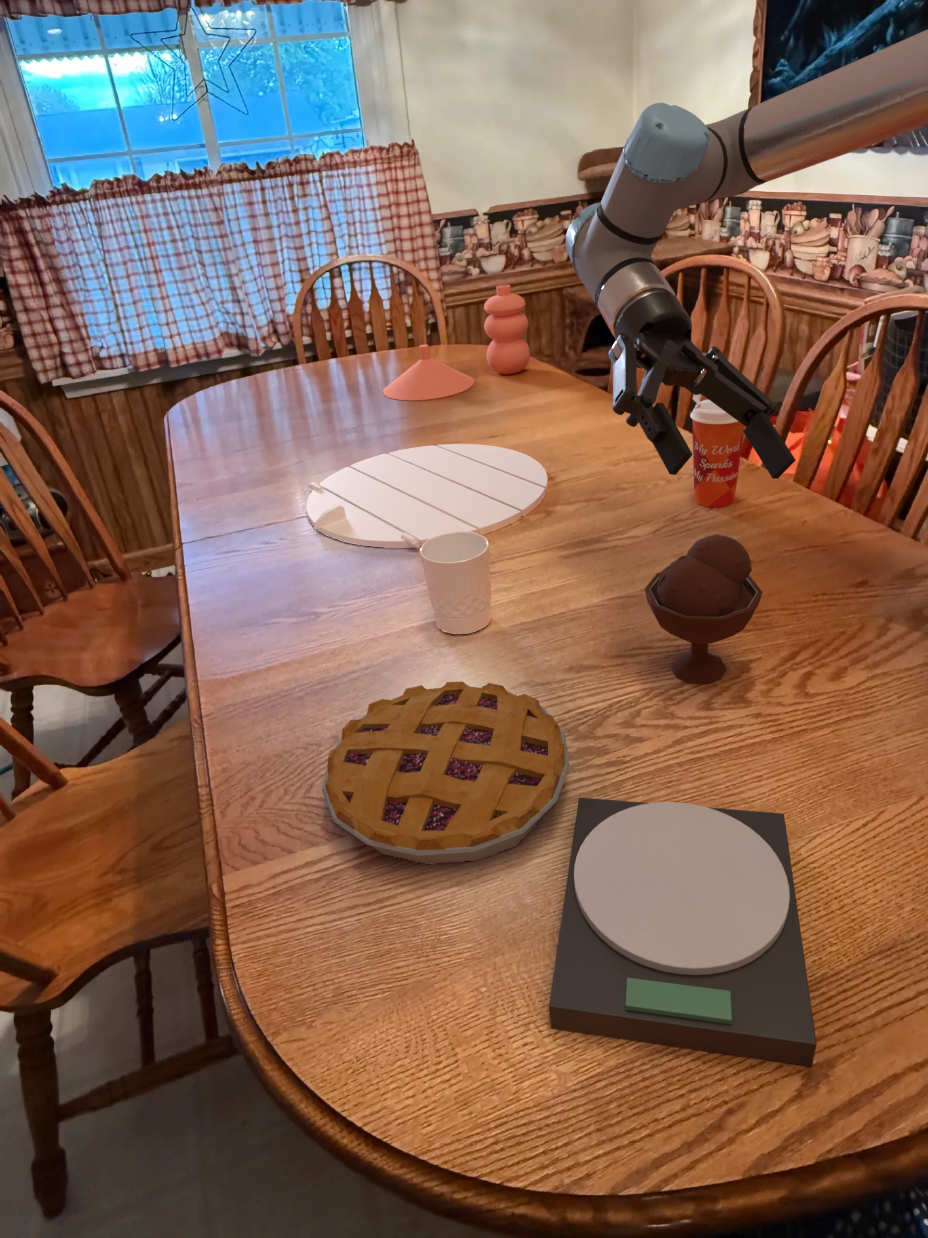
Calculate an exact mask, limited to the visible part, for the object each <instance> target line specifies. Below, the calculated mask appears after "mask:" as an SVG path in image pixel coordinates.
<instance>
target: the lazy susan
mask: <svg viewBox="0 0 928 1238" xmlns="http://www.w3.org/2000/svg"><path fill="white" fill-rule="evenodd" d="M308 488H309V489H310V490H312V491H311V492H310V493H309V495H308V497H307V499H306V503H305V510H306V513H307V514H306V515H307V519H308V518H309V519H308V521H309V520H310V521H309V523H310V522H311V523H312V524H313V526H314V527H313V526H312V527H313V529H314V530H316V531H318V530H319V531H321V532H322V533H324V534H326V535H328V536H330V537H334V538H335V539H339V540H342V541H347V542H350V543H356V544H360V545H365V546H377V547H384V548H383V549H419V548H421V546H422V545H423V544H424V543H425V542H426V541H428V540H429V539H431V538H433V537H435V536H438V535H441V534H445V533H450V532H473V533H477V534H480V535H482V536H484V535H487V534H490V533H493V532H495V531H498V530H500V529H501V530H502V529H503V528H505V527H507V526H510V525H512V524H513V523H516V522H518V521H519V520H521V519H522V518H524V517H526V516H528V515H529V514H530V513H531V512H533V511H534V510H535V509H536V508H537V507H538V506H539V505H540V504H541V502H543V500H544V499H545V497H546V494H547V493H548V488H549V481H548V473H547V471H546V469H545V468H544V466H543V465H542V464H541V463H540V462H539V461H537V460H536V459H535V458H533V457H531V456H529V455H528V454H526V453H523V452H520V451H517V450H515V449H510V448H507V447H502V446H496V445H487V444H478V443H475V444H474V443H448V444H447V443H446V444H444V443H443V444H436V445H434V444H433V445H430V444H429V445H424V446H423V445H422V446H416V447H408V448H404V449H403V448H402V449H399V450H394V451H389V452H388V453H386V452H385V453H382V454H378V455H374V456H372V457H368V458H365V459H363V460H360V461H357V462H355V463H352V464H349V466H345V467H344V468H341V469H339V470H337V471H336V472H333V473H332V474H330V475H329V476H328V477H326V478H325V479H323V480H322V481H321V482H320V483H316V482H309V483H308ZM311 523H310V524H311ZM312 524H311V525H312ZM317 529H318V530H317ZM319 531H318V532H319ZM322 533H321V534H322Z"/></svg>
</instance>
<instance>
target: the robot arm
mask: <svg viewBox="0 0 928 1238" xmlns="http://www.w3.org/2000/svg"><path fill="white" fill-rule="evenodd" d="M926 126H928V29H925V30H923V31H921V32H918V33H916V34H915V35H912V36H910V37H907V38H905V39H903V40H900V41H899V42H896V43H894V44H891V45H889V46H887V47H885V48H882V49H880V50H877V51H876V52H873V53H871V54H868V55H867V56H864V57H862V58H860V59H857V60H854V61H853V62H851V63H849V64H846V65H844V66H841V67H839V68H837V69H834V70H833V71H830V72H828V73H825V74H823V75H822V76H818V77H817V78H815V79H812V80H810V81H807V82H805V83H803V84H801V85H799V86H796V87H794V88H791V89H790V90H788V91H787V90H786V91H785V92H783V93H780V94H777V95H776V96H773V97H772V98H769V99H767V100H764V101H763V102H760V103H758V104H755V105H753V106H752V107H749V108H746V109H744V110H741V111H739V112H737V113H735V114H732V115H730V116H727V117H726V118H724V119H720V120H719V121H716V122H711V123H707V124H705V123H704V121H702V120H701V118H699V117H698V116H697V115H696V114H694V113H693V112H692V111H689V110H687V109H685V108H683V107H682V106H679V105H675V104H672V105H670V104H668V103H665V102H656V103H653V104H650V105H649V106H647V107H645V108H644V109H643V111H642V112H641V113H640V115H639V117H638V119H637V121H636V123H635V125H634V127H633V129H632V131H631V133H630V134H629V136H628V137H627V138H626V140H625V143H624V145H623V149H622V151H621V154H620V156H619V158H618V160H617V163H616V165H615V168H614V171H613V172H612V174H611V177H610V180H609V182H608V184H607V187H606V189H605V191H604V194H603V196H602V198H601V200H600V202H596V203H593V204H590V205H588V206H586V207H585V208H584V209H582V210H581V211H580V214H579V215H578V216H577V217H576V218H575V219H572V221H571V222H570V225H569V226H568V229H567V232H566V234H565V250H566V252H567V254H568V257H569V259H570V262H571V264H572V268H573V271H574V272H575V274H576V275H577V278H579V280H580V281H581V283H582V284H583V286H584V287H585V288H586V290H587V293H588V294H589V295H590V297H591V299H592V300H593V302H594V304H595V306H596V308H597V310H598V311H599V313H600V314H601V316H602V318H603V320H604V321H605V324H606V325H607V327H608V329H609V331H610V333H611V334H612V336H613V337H614V340H615V341H614V343H613V345H612V346H611V348H610V350H609V351H608V352H607V355H608V358H609V360H610V362H611V365H612V404H611V405H612V407H611V408H612V411H613V412H614V413H615V414H616V415H619V416H623V415H624V414H625V413H626V414H628V415H627V417H626V418H625V422H626V424H627V425H628V426H630V427H632V428H636V427H637V426H638V424H639V425H640V428H641V429H642V431H643V434H645V437H646V438H647V440H648V441H649V442H650V443H652V445H653V447H654V449H655V450H656V452H657V454H658V456H659V458H660V459H661V461H662V463H663V465H664V466H665V468H666V471H667V472H668V474H669V475H670V476H671V475H672V476H677V474H678V473H679V472H680V471H681V469H682V468H683V467H684V466H685V465H686V463H687V462H689V460H690V458H691V457H693V451H692V450H691V449H690V447H689V445H688V443H687V441H686V440H685V437H683V435H682V433H681V431H680V430H679V428H678V426H677V424H676V423H675V420H674V419H673V418H672V416H671V414H670V412H669V411H668V408H667V407H666V405H665V403H664V402H656V403H655V400H656V399H657V398H656V397H657V395H658V392H659V390H660V386H661V385H662V384H663V385H664V386H667V387H674V386H676V387H680V388H684V389H686V390H687V391H689V392H690V393H691V394H693V395H694V396H698V395H702V396H703V397H704V398H705V399H706V400H708V399H709V400H710V401H711V402H713V403H714V404H715V405H717V406H718V407H720V408H721V409H722V410H724V411H725V412H726V413H728V414H729V415H730V416H732V417H733V418H735V419H736V420H737V421H739V422H740V423H741V424H743V425H744V431H743V432H744V433H743V435H745V437H746V438H747V440H748V442H749V443H750V444H751V447H752V448H753V450H754V451H755V453H756V454H757V456H758V458H759V459H760V461H761V462H762V464H763V466H764V467H765V469H766V471H767V472H768V474H769V475H770V477H771V478H772V479H773V480H774V479H775V480H776V479H777V480H778V479H779V478H781V476H782V475H783V474H784V473H785V472H786V471H787V470H788V469H789V468H790V467H791V466H792V465H793V464H794V463H795V462H796V458H795V456H794V455H793V453H792V452H791V450H790V449H789V447H788V446H787V444H786V442H785V441H784V440H783V438H782V436H781V435H780V433H779V431H778V430H777V428H776V427H775V425H774V424H773V422H772V421H771V419H772V418H773V417H774V415H775V414H776V413H777V412H778V410H779V406H778V405H777V404H776V403H775V402H774V401H773V400H772V399H770V397H769V396H767V395H766V394H765V393H764V392H763V391H762V390H761V389H760V388H758V386H757V385H756V384H754V383H753V382H752V381H751V380H750V379H749V378H748V377H747V376H745V375H744V374H743V373H742V372H741V371H740V370H739V369H738V368H736V366H735V365H733V364H732V363H731V362H730V361H729V360H728V358H727V357H726V356H725V354H724V353H723V352H722V351H721V349H720V348H719V347H717V346H711V348H710V349H709V350H708V352H702V350H701V349H700V348H699V347H698V346H697V345H695V343H694V342H693V341H692V331H693V322H692V318H691V317H690V315H689V314H688V312H687V310H686V309H685V308H684V306H683V304H682V303H681V302H680V301H681V300H679V298H678V297H677V296H676V293H675V291H674V290H673V288H672V286H671V285H670V284H669V282H668V280H667V279H666V278H665V276H664V275H663V273H662V272H661V270H660V269H659V267H658V265H657V263H656V261H655V260H654V259H653V256H652V254H653V252H654V250H655V248H656V246H657V244H658V243H659V241H660V240H661V238H662V236H663V234H664V232H665V230H666V228H668V225H669V223H670V221H671V219H672V217H673V215H674V214H675V212H676V211H677V210H681V209H684V208H688V207H692V206H693V207H694V206H696V205H700V204H703V203H706V202H711V201H715V200H719V199H724V198H725V199H726V198H733V197H735V196H739V195H743V194H744V193H747V192H749V191H750V190H753V189H754V188H756V187H759V186H761V185H763V184H765V183H768V182H771V181H774V180H776V179H780V178H782V177H785V176H788V175H791V174H793V173H797V172H799V171H801V170H804V169H808V168H811V167H813V166H816V165H818V164H822V163H824V162H827V161H830V160H833V159H836V158H839V157H842V156H844V155H846V154H850V153H853V152H856V151H859V150H861V149H864V148H866V147H869V146H872V145H875V144H878V143H881V142H884V141H886V140H890V139H892V138H895V137H898V136H900V135H903V134H906V133H909V132H912V131H915V130H918V129H921V128H924V127H926ZM638 369H643V370H644V375H643V377H642V380H641V382H640V387H639V390H638V379H637V378H638V377H637V375H638V374H637V373H638V372H637V370H638ZM700 375H702V376H703V377H702V378H701V379H700V381H699V382H695V381H696V380H697V378H698V377H699V376H700ZM654 403H655V404H654ZM653 404H654V405H653Z"/></svg>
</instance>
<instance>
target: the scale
mask: <svg viewBox="0 0 928 1238" xmlns="http://www.w3.org/2000/svg"><path fill="white" fill-rule="evenodd" d="M794 881H795V880H794V876H793V867H792V862H791V854H790V846H789V839H788V832H787V825H786V818H785V814H784V813H781V812H769V811H756V810H744V809H732V808H731V809H730V808H719V807H707V806H703V805H698V804H694V803H687V802H679V801H678V802H677V801H661V802H659V801H658V802H644V801H643V802H641V801H630V800H629V801H628V800H616V799H603V798H594V797H593V798H592V797H591V798H590V797H579V798H578V802H577V809H576V816H575V823H574V829H573V838H572V844H571V851H570V858H569V865H568V871H567V879H566V885H565V893H564V899H563V905H562V906H563V907H562V913H561V919H560V926H559V933H558V940H557V948H556V954H555V961H554V969H553V975H552V982H551V989H550V995H549V1003H548V1012H549V1013H548V1014H549V1024H550V1028H551V1029H554V1030H560V1031H568V1032H574V1033H580V1034H586V1035H593V1036H601V1037H606V1038H607V1037H608V1038H609V1037H610V1038H613V1039H615V1038H616V1039H621V1040H627V1041H635V1042H642V1043H647V1044H656V1045H662V1046H670V1047H676V1048H683V1049H689V1050H697V1051H703V1052H709V1053H717V1054H723V1055H730V1056H737V1057H742V1058H743V1057H744V1058H750V1059H755V1060H756V1059H757V1060H763V1061H771V1062H776V1063H777V1062H778V1063H784V1064H791V1065H796V1066H797V1065H798V1066H805V1067H813V1065H814V1058H815V1054H816V1049H817V1045H818V1043H817V1036H816V1031H815V1029H816V1028H815V1023H814V1015H813V1010H812V1009H813V1007H812V1001H811V996H810V995H811V993H810V988H809V980H808V974H807V966H806V959H805V952H804V945H803V939H802V930H801V924H800V916H799V910H798V903H797V902H798V901H797V895H796V889H795V882H794Z"/></svg>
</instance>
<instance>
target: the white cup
mask: <svg viewBox="0 0 928 1238" xmlns="http://www.w3.org/2000/svg"><path fill="white" fill-rule="evenodd" d="M419 548H420V549H419V554H420V559H421V564H422V568H423V573H424V578H425V583H426V584H425V585H426V589H427V592H428V593H427V594H428V598H429V601H430V605H431V607H432V612H433V617H434V621H435V622H434V623H435V627H437V626H438V627H439V628H440V629H441V630H444V631H447V632H450V633H455V634H459V633H460V634H466V633H470V632H476V631H478V630H480V629H482V628H484V627H485V626H487V625H489V624H490V622H491V621H492V605H491V604H492V602H491V600H492V577H491V558H490V542H489V540H488V538H486V537H485V536H484V535H480V534H477V533H473V532H450V533H445V534H441V535H438V536H435V537H433V538H431V539H429V540H428V541H426V542H425V543H424V544H423V545H422V546H420V547H419ZM438 627H437V628H438ZM487 627H488V626H487ZM439 628H438V629H439ZM485 628H486V627H485ZM485 628H484V629H485ZM440 629H439V630H440ZM441 630H440V631H441ZM482 630H483V629H482ZM480 631H481V630H480ZM476 633H477V632H476Z"/></svg>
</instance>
